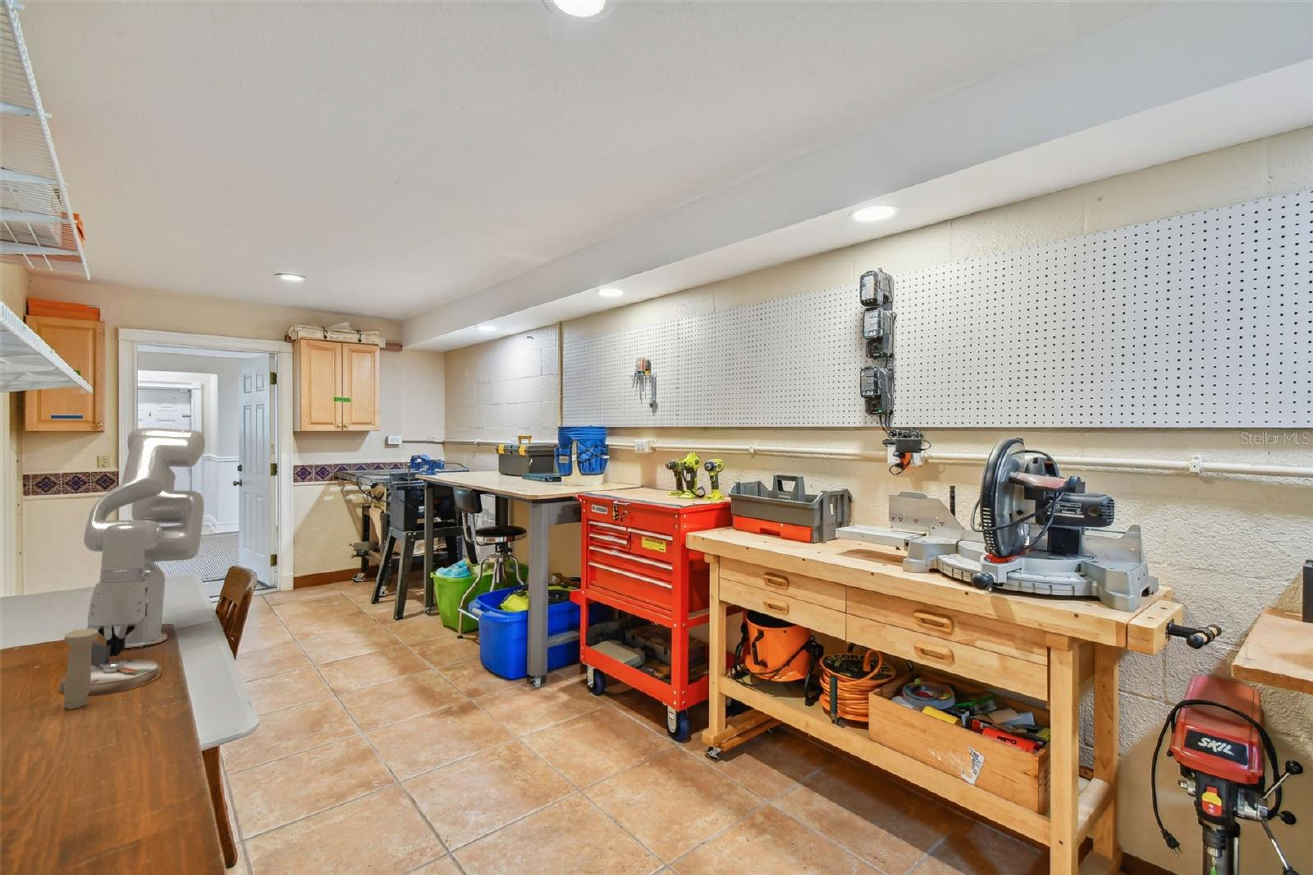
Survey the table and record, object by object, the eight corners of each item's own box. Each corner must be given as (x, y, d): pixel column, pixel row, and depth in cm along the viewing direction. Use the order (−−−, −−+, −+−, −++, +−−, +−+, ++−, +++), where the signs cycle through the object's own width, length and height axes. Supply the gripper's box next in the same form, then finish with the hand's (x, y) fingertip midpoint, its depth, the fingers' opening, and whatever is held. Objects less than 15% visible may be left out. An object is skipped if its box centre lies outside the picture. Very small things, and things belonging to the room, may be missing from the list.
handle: (55, 715, 117) (62, 638, 118) (62, 703, 122) (68, 630, 123) (89, 709, 120) (95, 635, 121) (94, 699, 125) (100, 627, 126)
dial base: (136, 693, 129) (137, 681, 129) (39, 698, 124) (40, 686, 124) (175, 666, 145) (176, 656, 145) (90, 670, 140) (91, 660, 141)
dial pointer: (144, 671, 135) (146, 648, 135) (127, 677, 131) (129, 652, 131) (100, 663, 139) (102, 640, 139) (82, 668, 135) (84, 644, 135)
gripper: (165, 572, 147) (159, 647, 145) (85, 575, 139) (77, 654, 138) (158, 577, 140) (151, 655, 139) (73, 581, 133) (65, 663, 132)
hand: (114, 654), depth 139 cm, fingers closed
